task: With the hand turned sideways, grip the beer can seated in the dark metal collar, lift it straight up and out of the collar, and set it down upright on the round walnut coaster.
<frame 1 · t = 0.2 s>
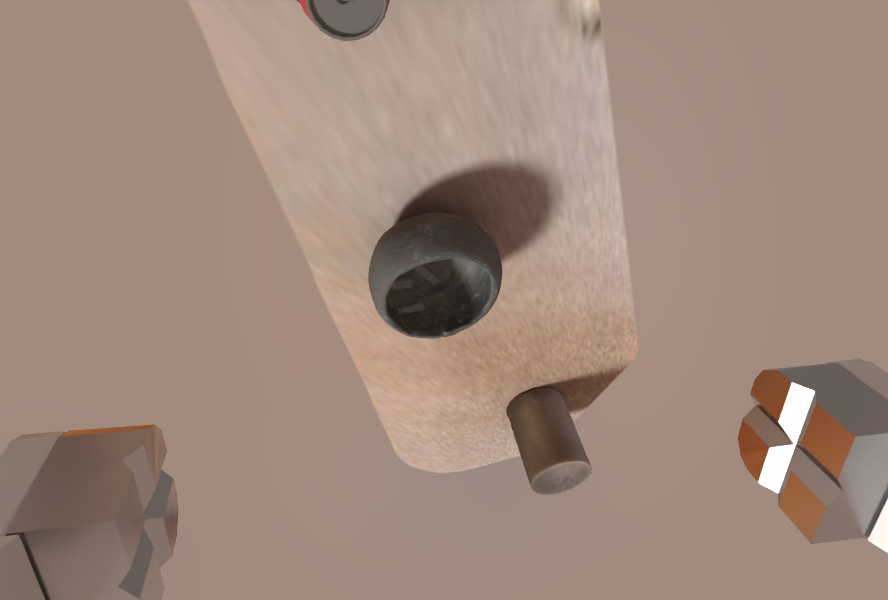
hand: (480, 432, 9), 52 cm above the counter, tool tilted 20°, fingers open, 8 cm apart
bowl: (426, 239, 74), on the counter
pillar candle: (535, 403, 104), on the counter
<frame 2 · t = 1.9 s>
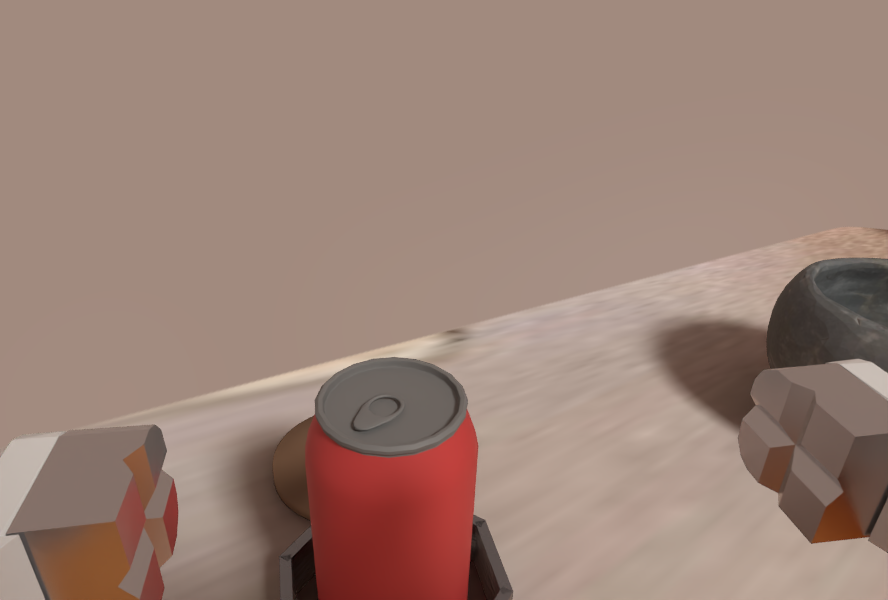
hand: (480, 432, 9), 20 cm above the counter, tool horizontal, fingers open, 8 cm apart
walnut coaster: (353, 465, 37), on the counter
bowl: (866, 435, 41), on the counter
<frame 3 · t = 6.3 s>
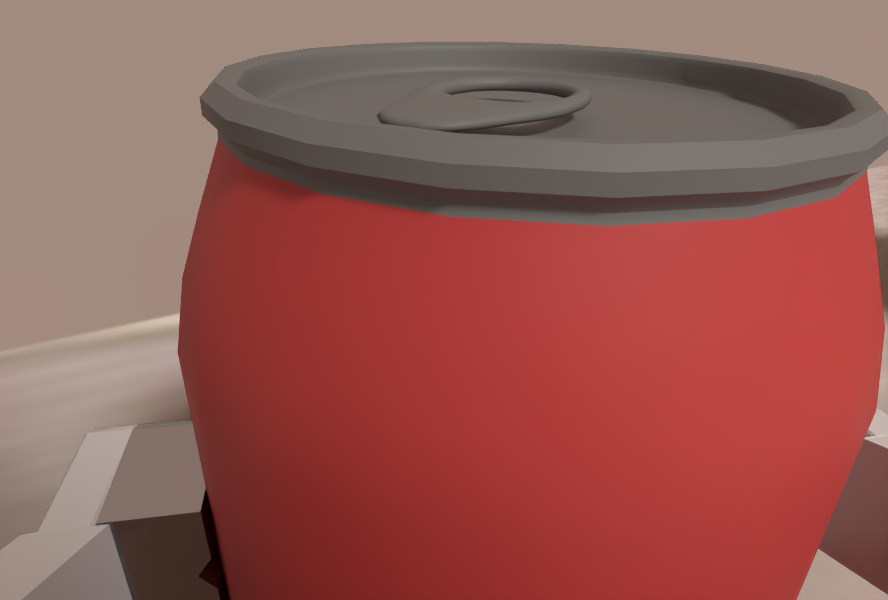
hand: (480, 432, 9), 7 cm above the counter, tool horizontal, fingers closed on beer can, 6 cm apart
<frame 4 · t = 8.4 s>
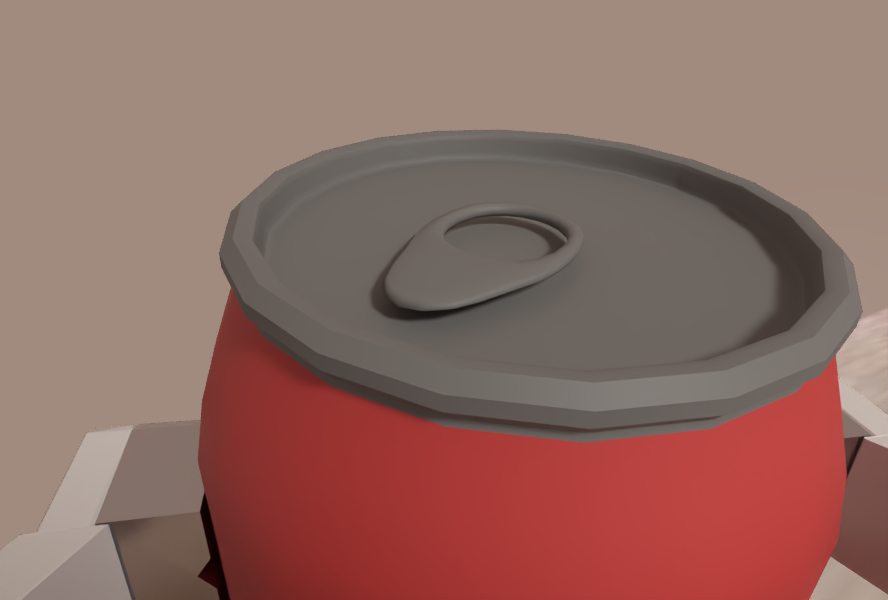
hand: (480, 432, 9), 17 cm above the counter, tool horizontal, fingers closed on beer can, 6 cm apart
when the fingers open (10 cm above the counter, at t = 10.6 s): beer can stays where it is, resting on walnut coaster.
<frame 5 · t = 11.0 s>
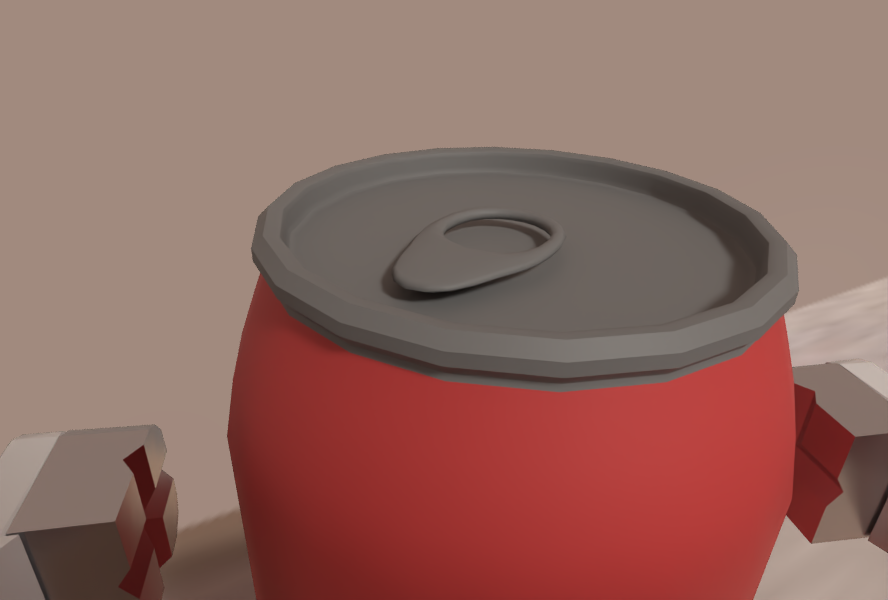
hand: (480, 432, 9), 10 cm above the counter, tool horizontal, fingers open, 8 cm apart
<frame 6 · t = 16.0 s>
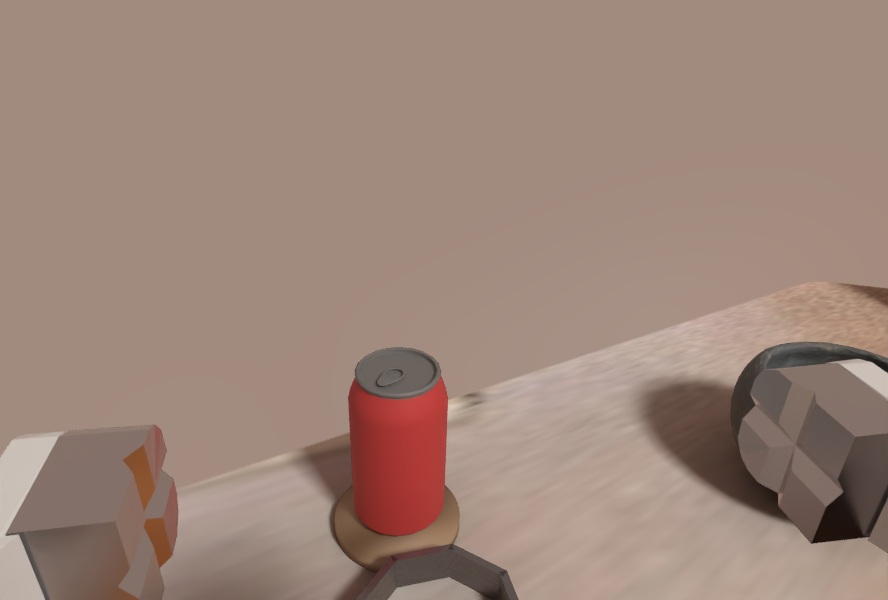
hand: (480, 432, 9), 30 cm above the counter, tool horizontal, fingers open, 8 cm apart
walnut coaster: (397, 521, 46), on the counter
bowl: (813, 487, 50), on the counter
beer can: (399, 507, 46), point 1 cm above the counter, touching walnut coaster
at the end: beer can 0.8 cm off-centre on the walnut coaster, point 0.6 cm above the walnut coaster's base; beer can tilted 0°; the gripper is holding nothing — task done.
